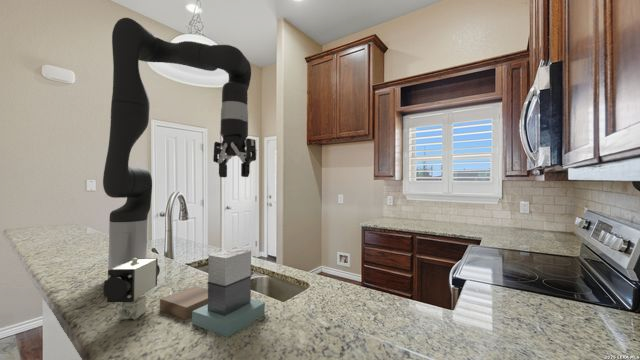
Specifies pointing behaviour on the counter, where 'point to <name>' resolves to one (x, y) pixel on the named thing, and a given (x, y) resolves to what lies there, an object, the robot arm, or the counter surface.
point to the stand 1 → (184, 302)
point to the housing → (229, 281)
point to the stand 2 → (228, 318)
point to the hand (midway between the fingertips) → (233, 177)
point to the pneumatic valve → (131, 285)
